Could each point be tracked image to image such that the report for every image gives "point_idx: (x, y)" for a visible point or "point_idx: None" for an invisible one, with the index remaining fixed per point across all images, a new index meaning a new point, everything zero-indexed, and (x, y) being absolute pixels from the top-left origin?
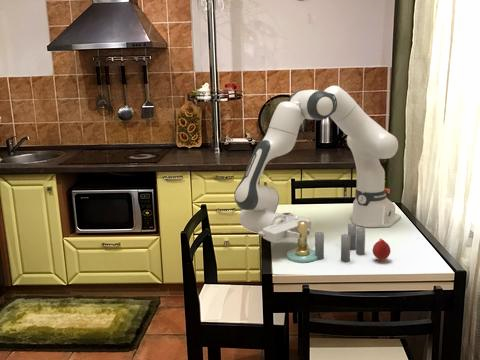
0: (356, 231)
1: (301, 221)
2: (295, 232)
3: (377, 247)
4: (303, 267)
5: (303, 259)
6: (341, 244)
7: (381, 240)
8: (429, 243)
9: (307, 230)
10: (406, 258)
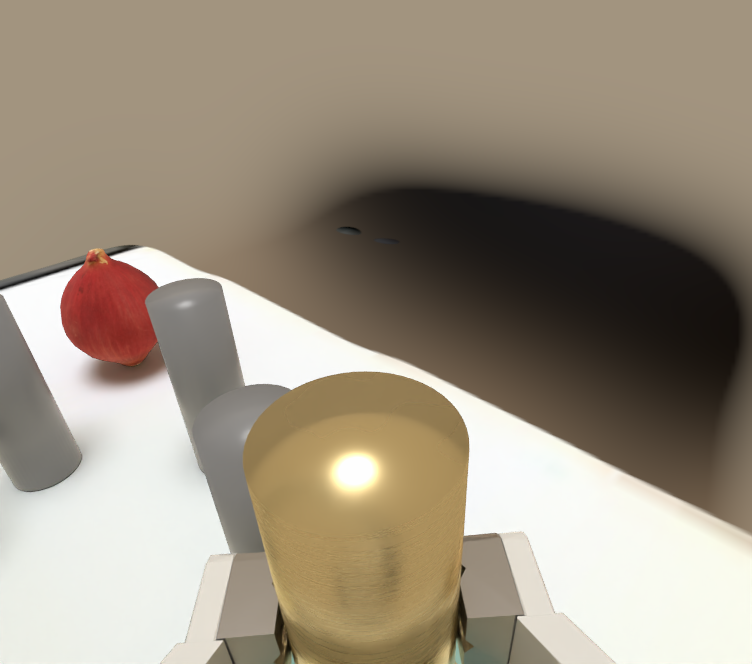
0: None
1: (334, 473)
2: (531, 614)
3: (146, 286)
4: (556, 555)
5: None
6: (228, 361)
7: (105, 255)
8: None
9: (264, 555)
10: (59, 330)
